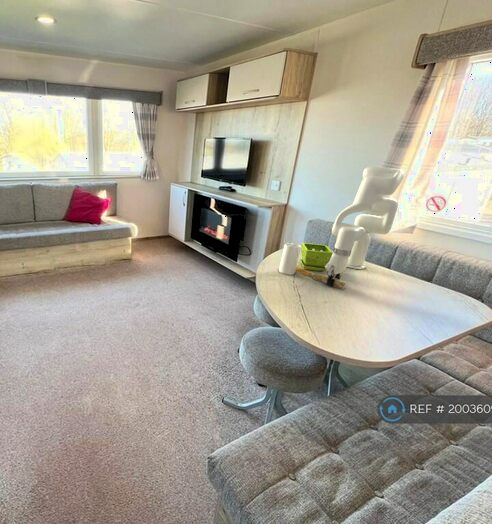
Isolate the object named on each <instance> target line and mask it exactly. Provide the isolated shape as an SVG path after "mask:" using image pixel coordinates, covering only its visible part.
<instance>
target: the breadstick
mask: <svg viewBox="0 0 492 524" xmlns="http://www.w3.org/2000/svg"><path fill="white" fill-rule="evenodd" d="M295 272H296V273H297V272H298V273H300V274H302V275H304V276H308V277H311V276H312V275H313V271H310V270H308V269H304V268H302V267H299V266H297V265H296V269H295Z"/></svg>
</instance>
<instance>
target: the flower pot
mask: <svg viewBox="0 0 492 524" xmlns="http://www.w3.org/2000/svg"><path fill="white" fill-rule="evenodd" d="M300 253H301V255H300V256H301V258H299V261H300V263H301V266H302V267H303V268H302V269H305V270H308V271H310V270H311V271H318V272H325V271H326V270H327V267H326V266H328V264H329V261H330V259H331V257H332V255H333V250H331V248H330V247H329V246H328V245H326V244H318V243H309V242H301V249H300Z"/></svg>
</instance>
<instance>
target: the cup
mask: <svg viewBox="0 0 492 524" xmlns="http://www.w3.org/2000/svg"><path fill="white" fill-rule="evenodd" d="M301 247H302V245H300V244H298V243H294V242H285V243H284V246H283V250H282V254H281V258H280V264H279V267H278V271H279V273H281V274H284V275H290V276H292V275H295V274H296V273H295V272H296V271H295V269H296V266H297V265H298V261H299V257H300V253H301Z"/></svg>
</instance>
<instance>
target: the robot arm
mask: <svg viewBox="0 0 492 524" xmlns="http://www.w3.org/2000/svg"><path fill="white" fill-rule="evenodd" d="M404 176H405V172H404V170H403V169H400V168H394V167H393V168H391V167H383V166H381V167H380V166H368V167H365V168H364V169H363V171H362V180H361V182H360V185H359V187H358V190H357V192H356V195H355V197H354V200H353V202H352V203H351V204H350V205H349V206H347V207H345V208H344V209H342V210H341V211H340V212H339V213H338V214H337V216H336V218H335V220H334V222H333V224H332V228H331V234H332V236H333V237H336V239H335V244H334V247H333V250H332V252H333V254H332V257H331V259H330V261H329V262H328V264H327V267H326V270H325V271H326V272H327V274H326V275H328V280H327V283H325V284H326V285H327V286H329V287H334V286H333V284H334V281H335V278H337V279H339V280H341V277H342V274H343V273H345V271H346V269H347V268H349V269H354V270H364V269H365V268H366V265H365V263H364V262H365V261H366V256H367V253H368V250H369V247H370V244H371V240H372V237H371V235H370V233H371V234H372V233H373V234H379V235H387V234H389V233H390V231H391V230H392V226H393V224H394V221H395V217H396V214H397V211H398V208H399V202H398V200H397V199H395V198H392V197H385V196H391V195H393V194H394V193H395V192H396V191H397V189H398V188H399V186H400V185H401V184H402V182H403V180H404ZM361 212H364V213H361ZM357 213H361V214H358V215H357V216H356V217H355V219H354V224H351V223H345V222H343V221H344V220H345V218H346V217H348V216H349V215H352V214H353V215H354V214H357Z"/></svg>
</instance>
